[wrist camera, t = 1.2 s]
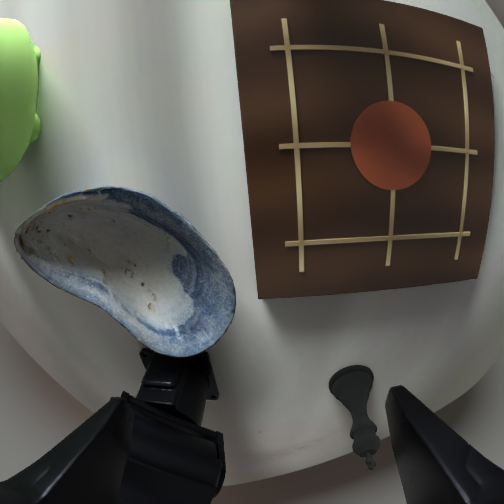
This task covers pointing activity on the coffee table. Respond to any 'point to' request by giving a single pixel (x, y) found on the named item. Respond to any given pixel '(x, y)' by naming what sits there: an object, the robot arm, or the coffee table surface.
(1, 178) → the teapot
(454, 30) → the board
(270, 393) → the coffee table surface
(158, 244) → the seashell
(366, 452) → the chess piece
